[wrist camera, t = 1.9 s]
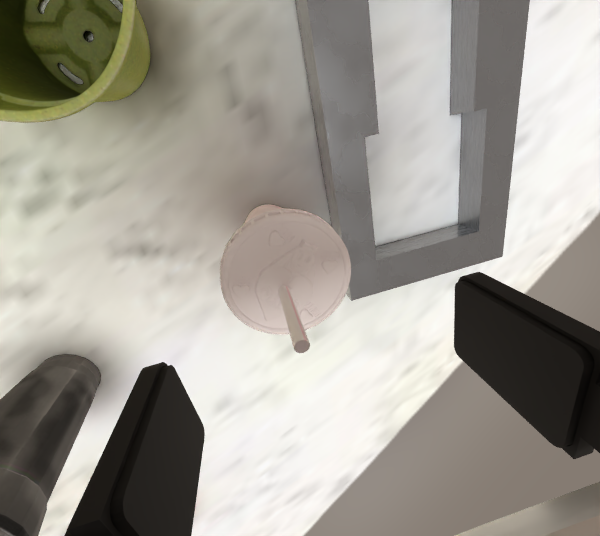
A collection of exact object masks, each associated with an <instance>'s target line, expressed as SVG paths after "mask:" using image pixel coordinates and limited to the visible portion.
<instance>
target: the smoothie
mask: <svg viewBox="0 0 600 536" xmlns="http://www.w3.org/2000/svg"><path fill="white" fill-rule="evenodd" d="M350 277H351V262H350V257H349V253H348V251H347V248H346V246H345V244H344V242H343V241H342V239H341V238H340V236H339V235H338V234H337V233H336V232H335V230H334V229H333V227H332V226H331V225H330V224H328V223H327V222H326V221H324V220H323V219H322V218H320V217H319V216H317V215H314V214H312V213H309V212H307V211H304V210H298V209H287V208H281V207H279V206H276V205H272V204H265V205H261V206H258V207H256V208H255V209H253V210H252V211H251V212H250V213H249V215H248V216H247V218H246V220H245V222H244V224H243V225H242V226H241V227H240V228H239V229H238V230H236V232H235V233H234V234H233V236H232V237H231V239H230V240H229V242H228V243H227V245H226V247H225V250H224V253H223V256H222V259H221V266H220V279H221V289H222V293H223V296H224V299H225V301H226V303H227V305H228V307H229V308H230V310H231V311H232V312H233V314H234V315H235V316H236V317H237V318H238V319H239V320H241V321H242V322H243V323H245V324H246V325H248V326H249V327H251V328H253V329H256V330H258V331H261V332H265V333H270V334H290V336H291V339H292V343H293V346H294V349H295V351H296V352H298V353H304V352H306V351H307V350H308V349H309V347H310V343H309V341H308V338H307V335H306V332H305V330H307V329H309V328H312V327H314V326H316V325H317V324H319V323H321V322H322V321H324V320H325V319H326V318H327V317H329V316H330V315H331V314H332V313H333V312H334V311H335V310H336V308H337V307H338V306H339V304H340V303H341V302H342V300H343V298H344V296H345V294H346V292H347V289H348V286H349V282H350Z"/></svg>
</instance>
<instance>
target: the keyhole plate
mask: <svg viewBox="0 0 600 536" xmlns="http://www.w3.org/2000/svg"><path fill="white" fill-rule="evenodd" d="M295 2H296V8H297V14H298V21H299V27H300V33H301V39H302V45H303V52H304V58H305V64H306V70H307V76H308V83H309V89H310V95H311V101H312V107H313V113H314V120H315V126H316V132H317V138H318V144H319V151H320V157H321V163H322V169H323V175H324V181H325V188H326V194H327V200H328V206H329V212H330V219H331V225H332V227H333V229H334V230H335V232H336V233H337V234H338V235H339V236H340V238H341V239H342V241H343V242H344V244H345V246H346V248H347V251H348V253H349V257H350V262H351V277H350V282H349V286H348V289H347V292H346V294H347V296H348V297H349V298H350V300H351V301H352V300H355V299H359V298H362V297H366V296H369V295H373V294H376V293H379V292H383V291H386V290H390V289H393V288H397V287H400V286H403V285H407V284H410V283H414V282H417V281H420V280H424V279H427V278H431V277H434V276H438V275H441V274H444V273H448V272H451V271H455V270H458V269H462V268H465V267H468V266H472V265H475V264H479V263H482V262H485V261H489V260H492V259H496V258H499V257H502V256H503V246H504V237H505V228H506V218H507V209H508V199H509V190H510V180H511V171H512V162H513V152H514V143H515V133H516V124H517V115H518V105H519V96H520V86H521V77H522V68H523V58H524V49H525V39H526V30H527V20H528V11H529V2H530V0H452V43H451V99H450V115H454V114H461V113H462V130H461V160H460V190H459V220H458V225H454V226H450V227H447V228H443V229H439V230H436V231H432V232H429V233H425V234H421V235H418V236H414V237H410V238H407V239H403V240H399V241H396V242H392V243H388V244H385V245H381V246H378V247H375V240H374V229H373V219H372V209H371V199H370V189H369V178H368V168H367V158H366V148H365V137H366V136H370V135H374V134H379V132H378V119H377V106H376V94H375V81H374V68H373V55H372V42H371V30H370V17H369V4H368V0H295Z"/></svg>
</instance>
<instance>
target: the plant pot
mask: <svg viewBox="0 0 600 536" xmlns="http://www.w3.org/2000/svg"><path fill="white" fill-rule="evenodd" d="M119 1H120V2H121V3H122V4H123V10H122V13H121V12H120V11H119V10H118V9H117V8H116V7H115V6H114V5H113V3H112V2H111V1H109V0H50V1H49V2H48V4H47V6H46V8H45V11H44V14H40V12H39V10H38V8H37V7H38V4H39V2H40V0H0V120H1V121H8V122H23V123H24V122H43V121H50V120H55V119H59V118H63V117H66V116H69V115H72V114H74V113H77V112H79V111H81V110H83V109H85V108H86V107H88V106H90V105H91V104H93V103H94V102H107V101H115V100H119V99H123V98H125V97H127V96H129V95H131V94H132V93H133V92H135V91H136V90H137V89H138V88H139V87H140V85H141V84H142V83H143V81H144V79H145V77H146V75H147V72H148V68H149V64H150V47H149V40H148V35H147V31H146V28H145V25H144V22H143V20H142V17H141V15H140V13H139V10H138V8H137V6H136V0H119ZM85 31H90V32H91V33H92V34H93V37H94V38H93V41H91V42H87V41H86V40H85V39H84V37H83V34H84V32H85ZM58 63H61V64H63V65H64V66H65V67H66V68H67V69H68V70H69V71H70V72H71V73H72V74H74V75H75V76H77V77H79V78H81V79H82V80H83V84H76V83H74V82H73V81H71V80H70V79H69V78H68V77H67V76H65V75H64V74H63V73H62V72H61V71H60V69H59V68H58Z"/></svg>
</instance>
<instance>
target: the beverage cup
mask: <svg viewBox="0 0 600 536" xmlns="http://www.w3.org/2000/svg"><path fill="white" fill-rule="evenodd" d="M100 377H101V375H100V373H99V370H98V368H97V367H96V366H95V365H94V364H93V363H92V362H90V361H89V360H87V359H85V358H83V357H79V356H76V355H67V354H64V355H57V356H53V357H51V358H48V359H46V360H45V361H44V362H43V363H42V364H40V366H39V367H38V368H36V369H35V370H34V371H32V372H31V373H29V374H28V375H27V376H26V377H25V378H24V379H22V380H21V381H20V382H19V383H18V384H17V385H16V386H15V387H14V388H13V389H11V390H10V391H9V392H8V393H7V394H6V395H5V396H4V397H3V398H2V399H0V536H38V534H39V531H40V528H41V525H42V522H43V519H44V516H45V513H46V510H47V502H48V500H49V498H50V496H51V493H52V491H53V489H54V487H55V484H56V482H57V480H58V478H59V475H60V473H61V471H62V469H63V466H64V464H65V462H66V460H67V457H68V455H69V453H70V451H71V448H72V446H73V444H74V442H75V439H76V437H77V435H78V433H79V430H80V428H81V426H82V424H83V422H84V419H85V417H86V415H87V413H88V410H89V408H90V406H91V404H92V401H93V399H94V397H95V392H96V390H97V386H98V385H99V383H100Z"/></svg>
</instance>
